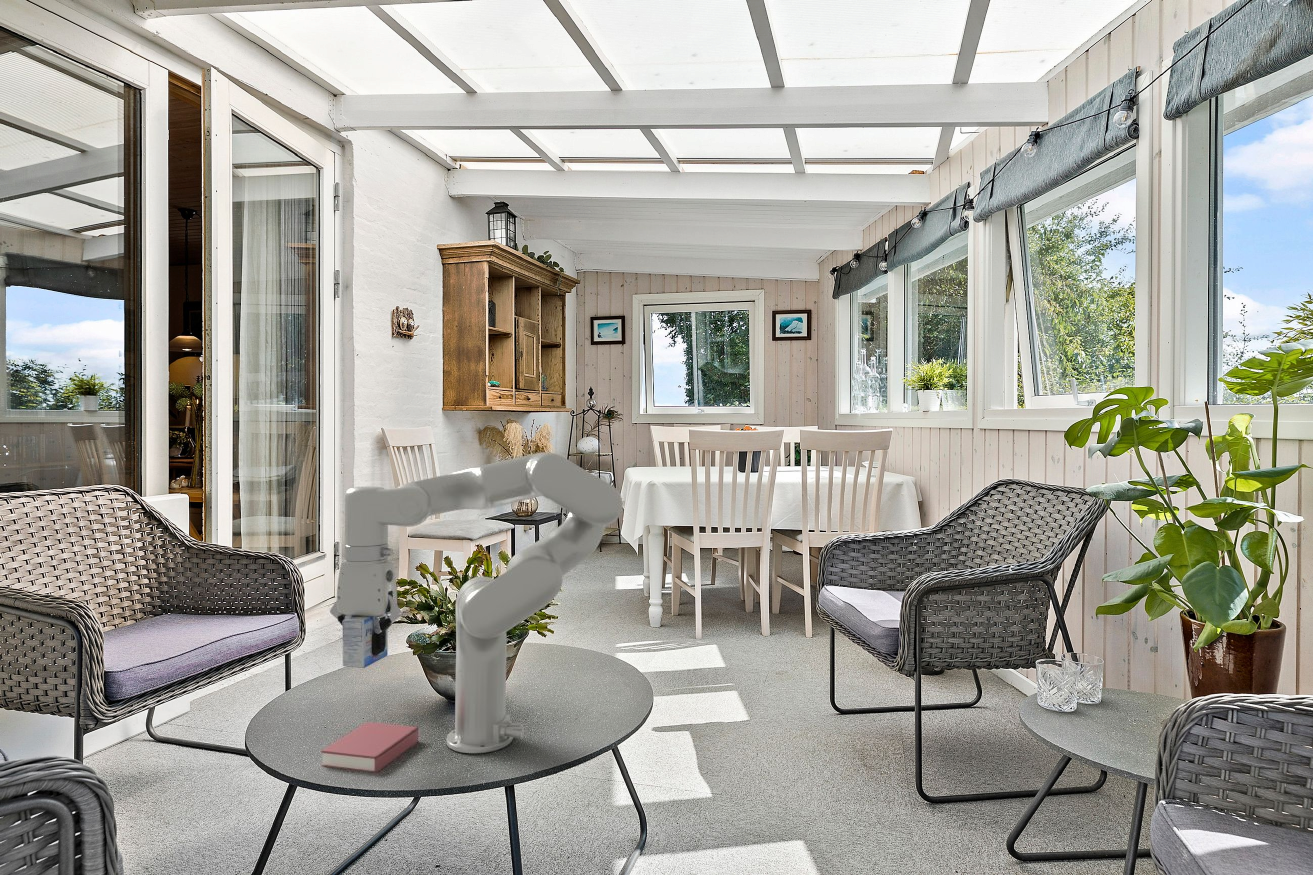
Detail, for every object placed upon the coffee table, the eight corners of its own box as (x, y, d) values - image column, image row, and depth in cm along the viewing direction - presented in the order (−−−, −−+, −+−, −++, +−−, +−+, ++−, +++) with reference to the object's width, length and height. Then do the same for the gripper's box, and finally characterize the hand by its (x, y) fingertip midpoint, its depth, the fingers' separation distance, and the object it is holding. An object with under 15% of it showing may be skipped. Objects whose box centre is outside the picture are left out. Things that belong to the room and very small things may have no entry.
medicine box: (363, 668, 135) (364, 620, 135) (341, 667, 136) (341, 619, 136) (388, 656, 143) (388, 610, 143) (367, 654, 143) (367, 609, 143)
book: (418, 742, 145) (418, 727, 145) (376, 773, 132) (376, 756, 132) (367, 736, 148) (367, 721, 148) (321, 767, 134) (321, 750, 134)
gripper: (418, 552, 141) (417, 649, 141) (338, 548, 145) (338, 643, 145) (396, 558, 134) (395, 661, 134) (312, 554, 137) (312, 654, 137)
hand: (365, 651), depth 139 cm, fingers closed on medicine box, 4 cm apart
